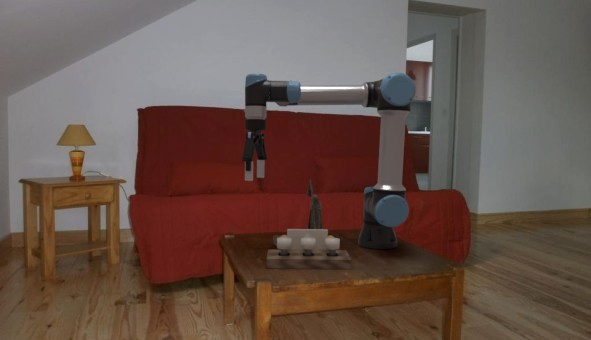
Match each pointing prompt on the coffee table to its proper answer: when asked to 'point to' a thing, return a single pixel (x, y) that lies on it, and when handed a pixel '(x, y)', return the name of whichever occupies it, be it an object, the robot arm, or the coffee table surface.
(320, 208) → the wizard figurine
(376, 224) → the robot arm
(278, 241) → the button
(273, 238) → the stone
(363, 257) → the coffee table surface
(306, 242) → the button
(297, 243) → the card
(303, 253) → the board
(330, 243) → the button
